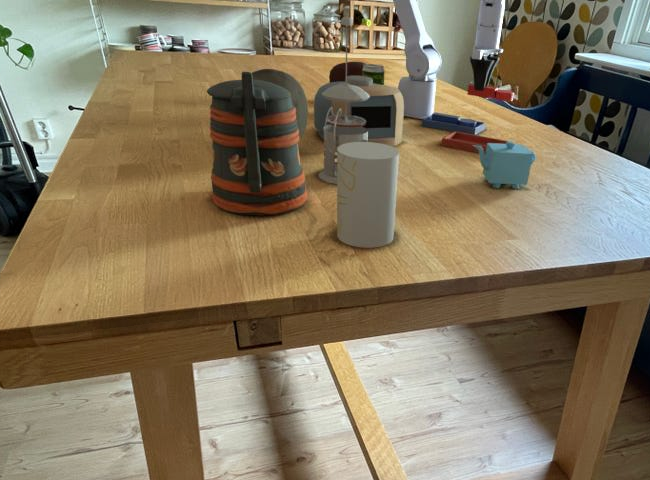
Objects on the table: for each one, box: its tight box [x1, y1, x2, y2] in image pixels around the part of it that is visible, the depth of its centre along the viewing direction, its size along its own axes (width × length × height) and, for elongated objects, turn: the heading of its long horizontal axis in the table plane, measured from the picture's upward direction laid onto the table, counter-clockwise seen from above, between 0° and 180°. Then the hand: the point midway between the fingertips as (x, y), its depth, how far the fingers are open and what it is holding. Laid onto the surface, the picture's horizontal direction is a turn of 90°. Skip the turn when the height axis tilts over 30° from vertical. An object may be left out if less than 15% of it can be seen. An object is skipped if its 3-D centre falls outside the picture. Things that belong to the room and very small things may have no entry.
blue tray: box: [421, 115, 487, 135], centre depth 137 cm, size 14×8×2 cm, turn 64°
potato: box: [328, 61, 366, 83], centre depth 151 cm, size 11×13×10 cm
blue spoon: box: [432, 111, 478, 128], centre depth 137 cm, size 11×4×2 cm, turn 64°
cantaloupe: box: [251, 68, 309, 141], centre depth 105 cm, size 14×14×15 cm
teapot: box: [472, 140, 536, 189], centre depth 101 cm, size 12×6×8 cm, turn 94°
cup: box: [336, 142, 400, 249], centre depth 76 cm, size 8×8×12 cm
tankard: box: [206, 71, 308, 217], centre depth 80 cm, size 19×15×20 cm
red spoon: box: [466, 83, 515, 102], centre depth 136 cm, size 11×4×2 cm, turn 65°
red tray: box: [441, 131, 508, 155], centre depth 124 cm, size 14×8×2 cm, turn 64°
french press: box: [318, 16, 370, 185], centre depth 93 cm, size 10×12×25 cm
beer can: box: [362, 63, 385, 85], centre depth 136 cm, size 5×5×12 cm
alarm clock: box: [313, 76, 404, 148], centre depth 121 cm, size 19×20×12 cm
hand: (480, 89), depth 137 cm, fingers closed on red spoon, 2 cm apart
